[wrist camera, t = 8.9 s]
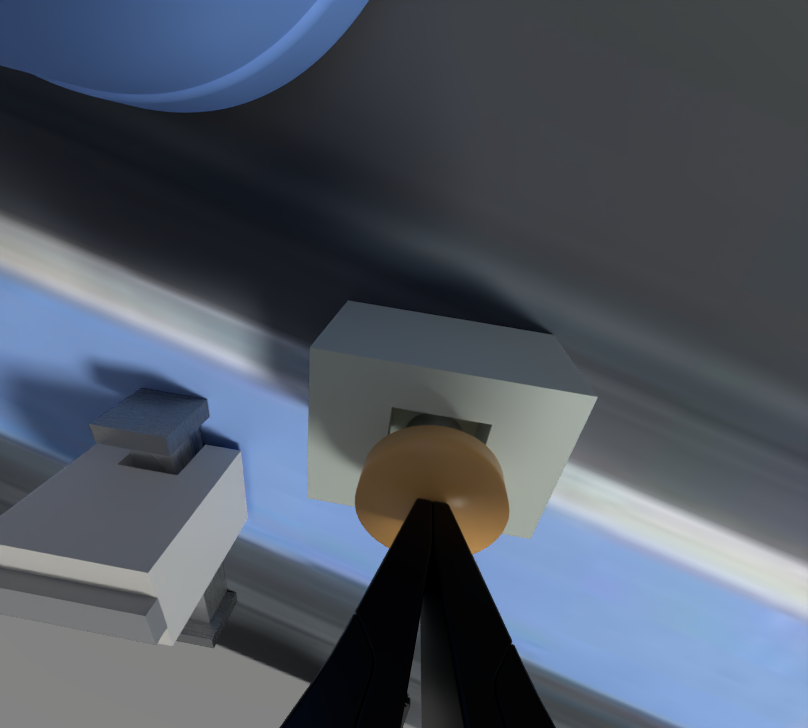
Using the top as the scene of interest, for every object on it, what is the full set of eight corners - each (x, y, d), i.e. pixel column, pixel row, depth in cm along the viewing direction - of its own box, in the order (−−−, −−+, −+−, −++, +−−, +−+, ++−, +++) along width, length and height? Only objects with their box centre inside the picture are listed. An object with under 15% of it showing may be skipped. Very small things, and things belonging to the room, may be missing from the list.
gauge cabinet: (509, 453, 16) (530, 539, 12) (333, 422, 16) (299, 496, 13) (553, 334, 13) (597, 396, 10) (340, 299, 14) (298, 345, 10)
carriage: (248, 518, 20) (163, 664, 14) (137, 497, 20) (5, 632, 14) (241, 450, 18) (136, 591, 12) (115, 428, 18) (-54, 554, 12)
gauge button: (478, 489, 13) (487, 571, 10) (369, 470, 13) (349, 545, 10) (509, 398, 11) (530, 468, 8) (381, 375, 11) (361, 437, 8)
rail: (237, 601, 25) (213, 648, 22) (192, 592, 25) (164, 638, 22) (206, 399, 17) (165, 437, 14) (141, 388, 17) (88, 424, 14)
